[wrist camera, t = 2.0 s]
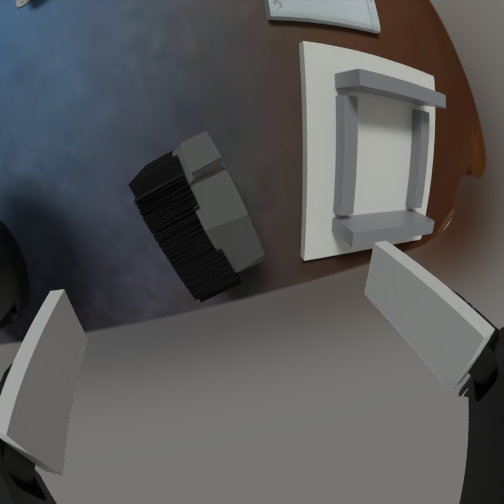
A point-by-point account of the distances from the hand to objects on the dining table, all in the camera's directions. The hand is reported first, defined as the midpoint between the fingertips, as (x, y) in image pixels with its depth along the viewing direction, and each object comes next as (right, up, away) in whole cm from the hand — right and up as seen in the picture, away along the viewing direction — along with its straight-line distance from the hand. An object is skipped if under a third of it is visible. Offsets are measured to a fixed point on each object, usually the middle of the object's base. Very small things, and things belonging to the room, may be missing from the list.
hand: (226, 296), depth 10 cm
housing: (+14, +12, +15) cm, 24 cm away
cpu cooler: (-4, +7, +13) cm, 16 cm away
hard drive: (+8, +28, +6) cm, 29 cm away
